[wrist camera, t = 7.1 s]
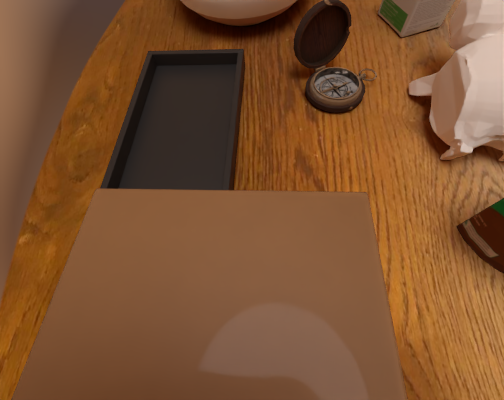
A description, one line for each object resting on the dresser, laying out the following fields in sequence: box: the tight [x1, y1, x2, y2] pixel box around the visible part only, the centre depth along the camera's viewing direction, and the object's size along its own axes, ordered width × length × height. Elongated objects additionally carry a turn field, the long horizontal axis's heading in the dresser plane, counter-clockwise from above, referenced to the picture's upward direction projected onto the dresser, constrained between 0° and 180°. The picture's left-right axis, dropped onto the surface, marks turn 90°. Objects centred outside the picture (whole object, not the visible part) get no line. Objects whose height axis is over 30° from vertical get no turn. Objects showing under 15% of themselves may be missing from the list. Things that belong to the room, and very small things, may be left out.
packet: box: [11, 188, 408, 400], centre depth 8 cm, size 7×5×12 cm
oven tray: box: [100, 49, 245, 190], centre depth 23 cm, size 35×11×2 cm, turn 177°
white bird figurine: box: [409, 0, 504, 161], centre depth 23 cm, size 8×8×15 cm
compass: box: [294, 0, 377, 112], centre depth 25 cm, size 8×8×7 cm
